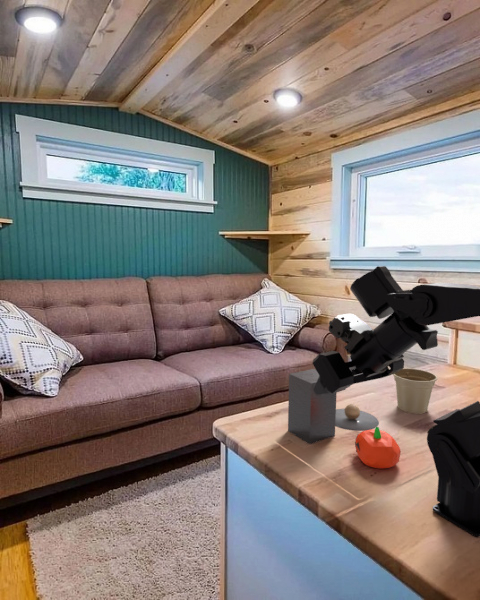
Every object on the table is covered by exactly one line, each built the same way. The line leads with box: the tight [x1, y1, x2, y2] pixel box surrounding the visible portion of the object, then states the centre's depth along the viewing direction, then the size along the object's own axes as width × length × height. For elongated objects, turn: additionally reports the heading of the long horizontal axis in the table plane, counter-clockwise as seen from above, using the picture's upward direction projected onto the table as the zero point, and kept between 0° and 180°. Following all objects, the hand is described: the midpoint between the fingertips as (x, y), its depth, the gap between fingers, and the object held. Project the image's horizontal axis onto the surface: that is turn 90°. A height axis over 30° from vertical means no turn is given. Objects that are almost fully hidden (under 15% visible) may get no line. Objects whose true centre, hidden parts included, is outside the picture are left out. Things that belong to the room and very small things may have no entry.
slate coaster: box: [335, 408, 380, 432], centre depth 86 cm, size 11×11×1 cm
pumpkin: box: [354, 426, 402, 470], centre depth 69 cm, size 7×8×6 cm
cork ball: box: [344, 403, 361, 420], centre depth 86 cm, size 3×3×3 cm
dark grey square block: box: [287, 368, 337, 445], centre depth 79 cm, size 6×6×12 cm
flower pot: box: [392, 367, 438, 415], centre depth 92 cm, size 9×9×9 cm
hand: (332, 386), depth 74 cm, fingers open, 9 cm apart
